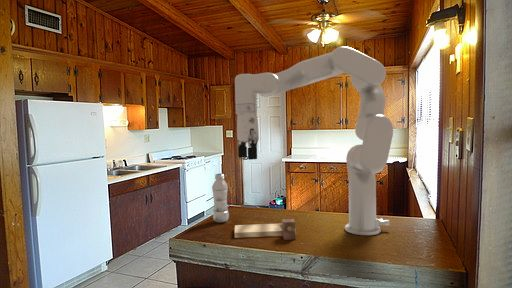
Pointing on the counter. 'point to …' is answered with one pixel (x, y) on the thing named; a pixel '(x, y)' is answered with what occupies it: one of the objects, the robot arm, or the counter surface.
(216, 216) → the plastic bottle
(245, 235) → the board
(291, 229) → the brown handled block
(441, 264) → the counter surface
